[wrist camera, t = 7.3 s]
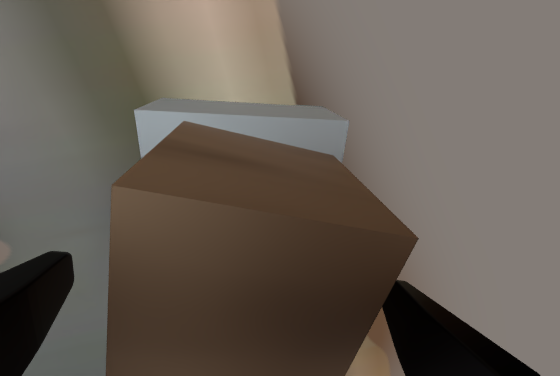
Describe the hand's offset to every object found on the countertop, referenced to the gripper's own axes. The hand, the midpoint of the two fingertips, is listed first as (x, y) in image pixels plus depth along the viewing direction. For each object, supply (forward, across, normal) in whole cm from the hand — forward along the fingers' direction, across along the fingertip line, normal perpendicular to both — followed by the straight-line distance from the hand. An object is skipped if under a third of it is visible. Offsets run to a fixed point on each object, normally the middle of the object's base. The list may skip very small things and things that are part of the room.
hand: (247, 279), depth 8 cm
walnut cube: (+4, 0, 0) cm, 4 cm away
